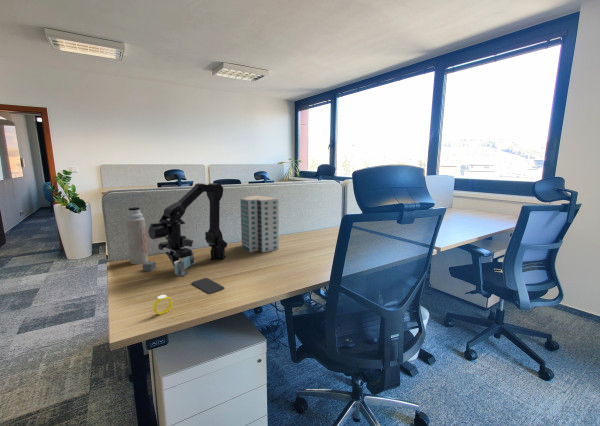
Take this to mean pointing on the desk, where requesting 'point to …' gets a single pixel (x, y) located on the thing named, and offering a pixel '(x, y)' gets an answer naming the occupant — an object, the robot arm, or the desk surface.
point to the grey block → (181, 269)
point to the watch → (162, 297)
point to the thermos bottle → (136, 236)
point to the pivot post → (192, 259)
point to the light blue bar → (186, 263)
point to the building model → (259, 223)
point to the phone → (208, 285)
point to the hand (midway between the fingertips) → (175, 266)
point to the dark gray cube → (149, 266)
